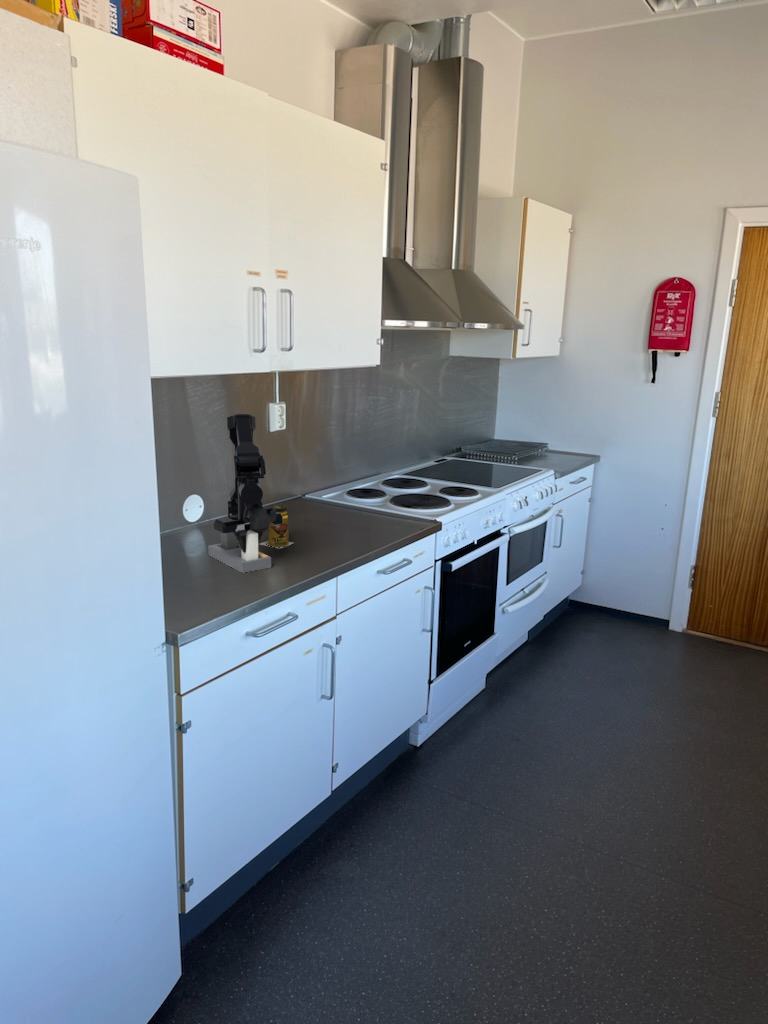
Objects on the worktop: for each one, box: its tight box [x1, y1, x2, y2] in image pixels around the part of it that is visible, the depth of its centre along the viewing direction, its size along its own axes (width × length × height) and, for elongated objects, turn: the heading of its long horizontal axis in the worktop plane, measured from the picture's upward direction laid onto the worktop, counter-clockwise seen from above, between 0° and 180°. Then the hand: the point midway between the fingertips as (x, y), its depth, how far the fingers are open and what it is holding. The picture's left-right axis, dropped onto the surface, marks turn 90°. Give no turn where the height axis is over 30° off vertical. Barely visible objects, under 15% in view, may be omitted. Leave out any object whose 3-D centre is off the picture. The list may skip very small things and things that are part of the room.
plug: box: [241, 530, 259, 561], centre depth 206 cm, size 4×3×8 cm
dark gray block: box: [220, 532, 238, 550], centre depth 215 cm, size 4×3×8 cm
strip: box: [207, 540, 272, 574], centre depth 211 cm, size 20×9×3 cm, turn 40°
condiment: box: [259, 504, 294, 550], centre depth 228 cm, size 7×8×12 cm
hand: (249, 551), depth 206 cm, fingers closed on plug, 3 cm apart
